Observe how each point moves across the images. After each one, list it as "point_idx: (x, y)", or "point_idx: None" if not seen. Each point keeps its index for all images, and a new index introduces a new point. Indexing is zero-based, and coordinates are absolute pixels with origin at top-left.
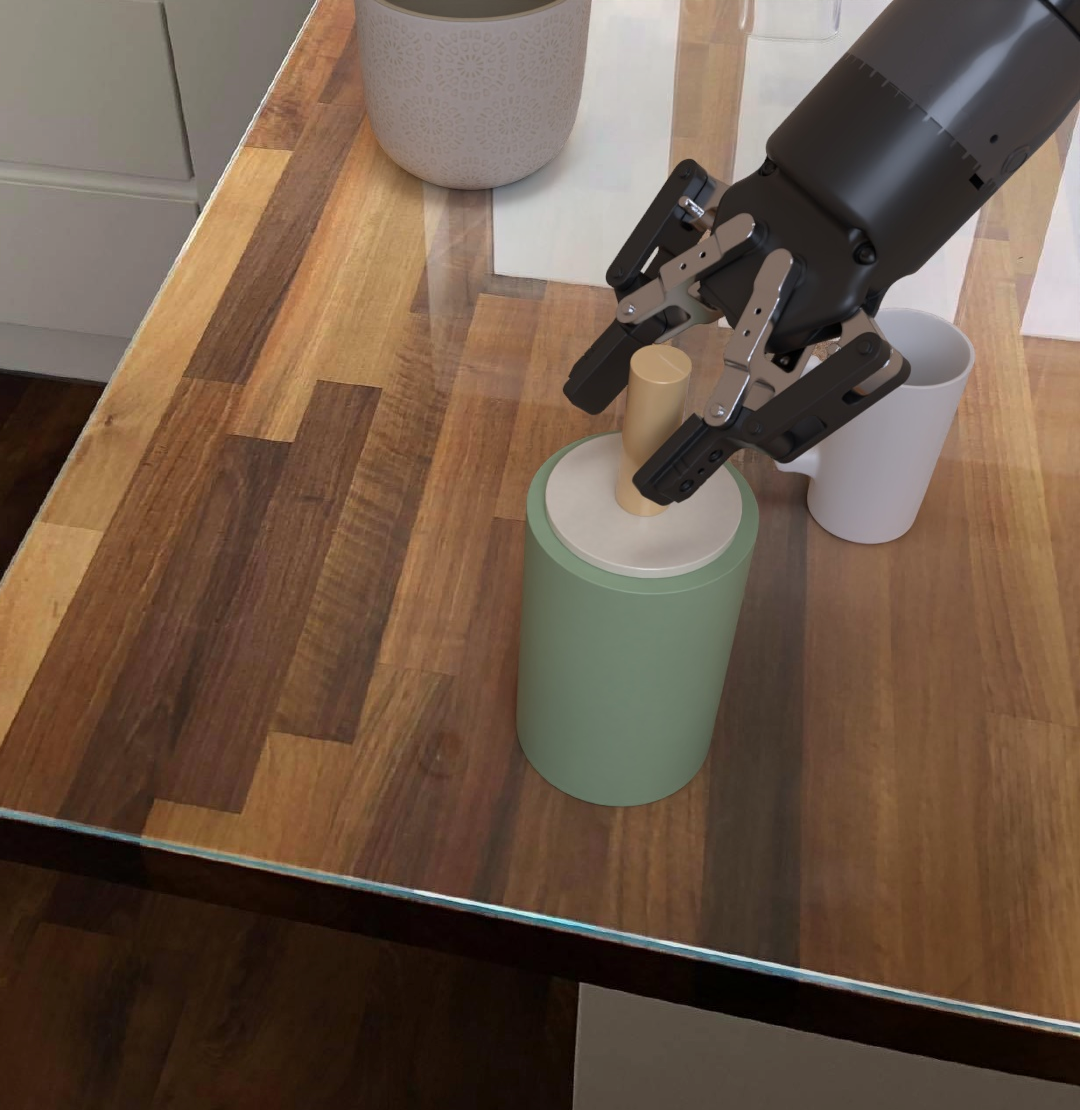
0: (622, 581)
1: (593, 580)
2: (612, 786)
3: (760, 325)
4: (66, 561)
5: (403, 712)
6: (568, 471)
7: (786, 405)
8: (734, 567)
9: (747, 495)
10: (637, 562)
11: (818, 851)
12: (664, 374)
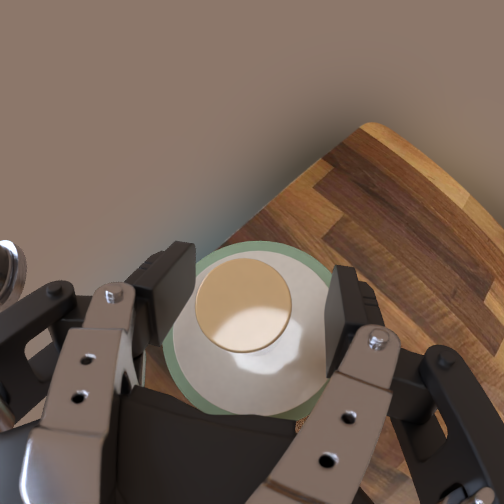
0: (203, 269)
1: (217, 252)
2: None
3: (62, 374)
4: (451, 191)
5: (325, 266)
6: (318, 296)
7: (18, 313)
8: (163, 348)
9: (215, 413)
10: (201, 280)
11: (157, 375)
12: (218, 290)
